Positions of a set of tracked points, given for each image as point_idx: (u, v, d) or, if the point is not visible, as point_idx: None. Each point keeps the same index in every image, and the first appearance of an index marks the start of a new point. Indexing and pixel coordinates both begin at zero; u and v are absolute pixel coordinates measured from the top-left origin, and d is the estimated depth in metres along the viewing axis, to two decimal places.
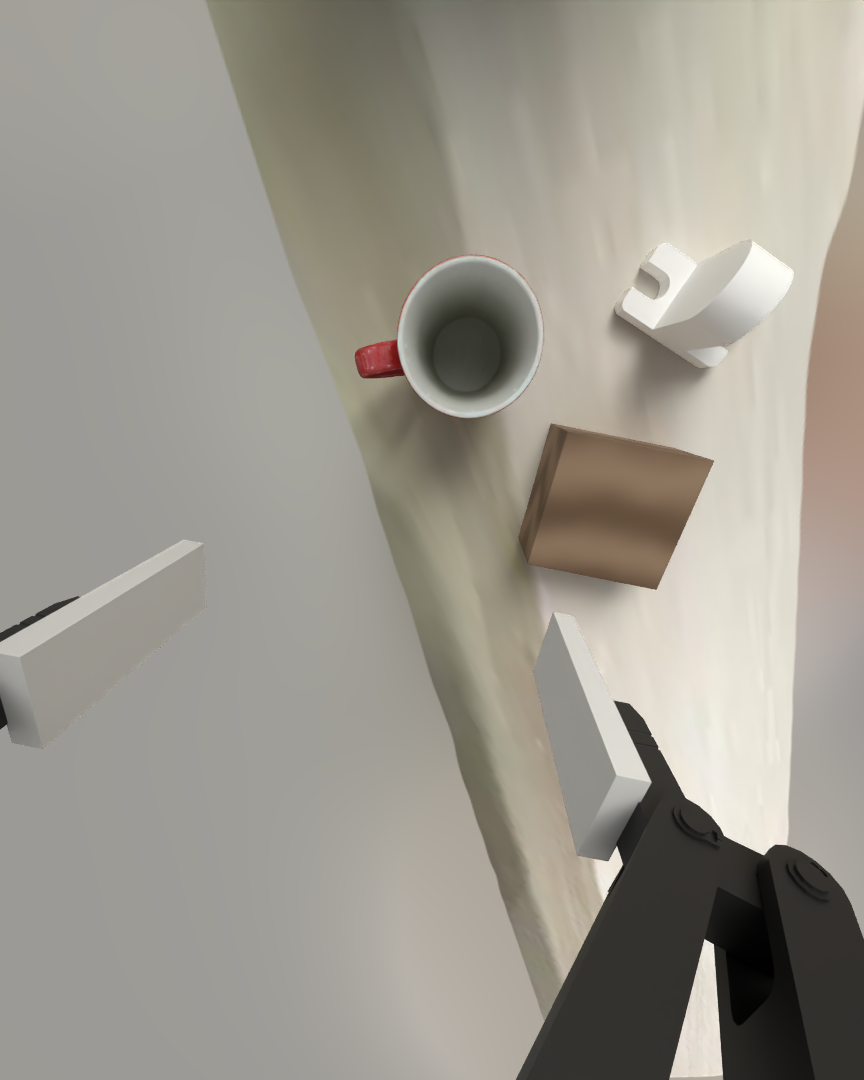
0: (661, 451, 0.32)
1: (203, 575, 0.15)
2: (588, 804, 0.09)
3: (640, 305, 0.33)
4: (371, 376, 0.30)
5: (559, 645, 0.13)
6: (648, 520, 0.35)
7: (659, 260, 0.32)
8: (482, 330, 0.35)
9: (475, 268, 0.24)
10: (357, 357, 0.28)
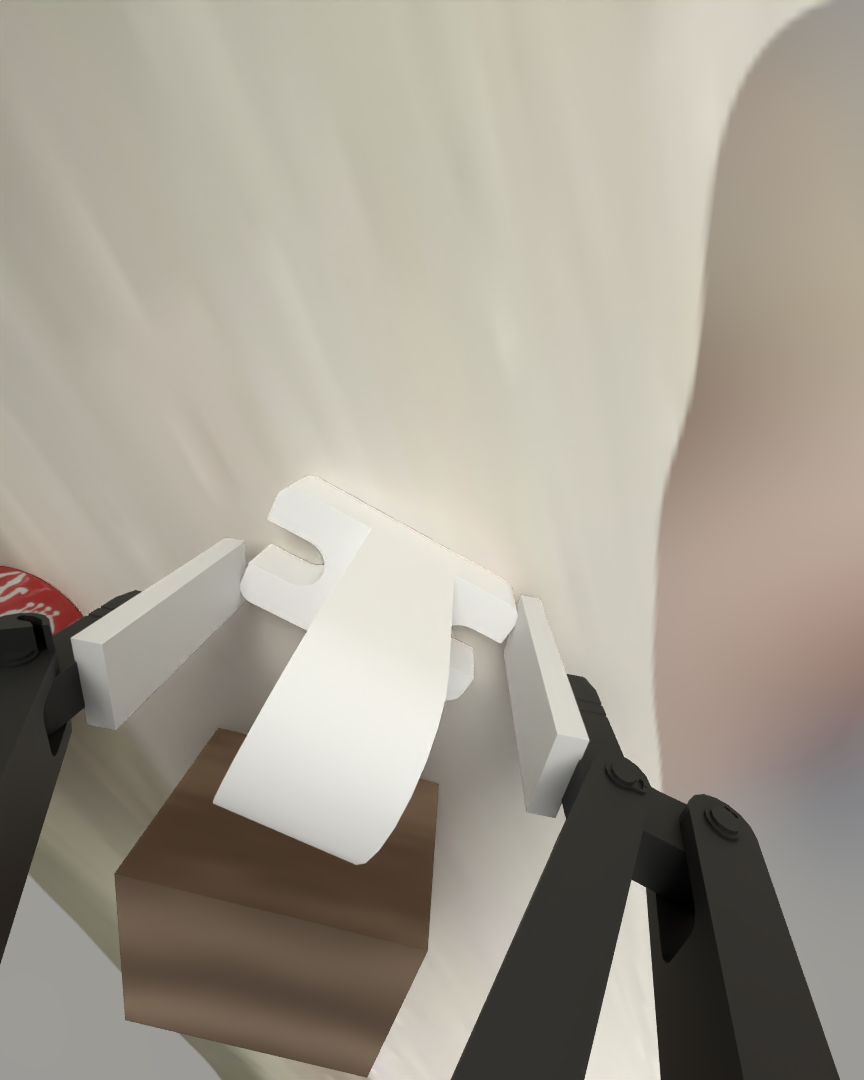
0: (316, 925, 0.15)
1: (243, 571, 0.16)
2: (536, 764, 0.10)
3: (276, 593, 0.16)
4: None
5: (523, 625, 0.14)
6: (324, 1003, 0.17)
7: (289, 519, 0.14)
8: None
9: None
10: None
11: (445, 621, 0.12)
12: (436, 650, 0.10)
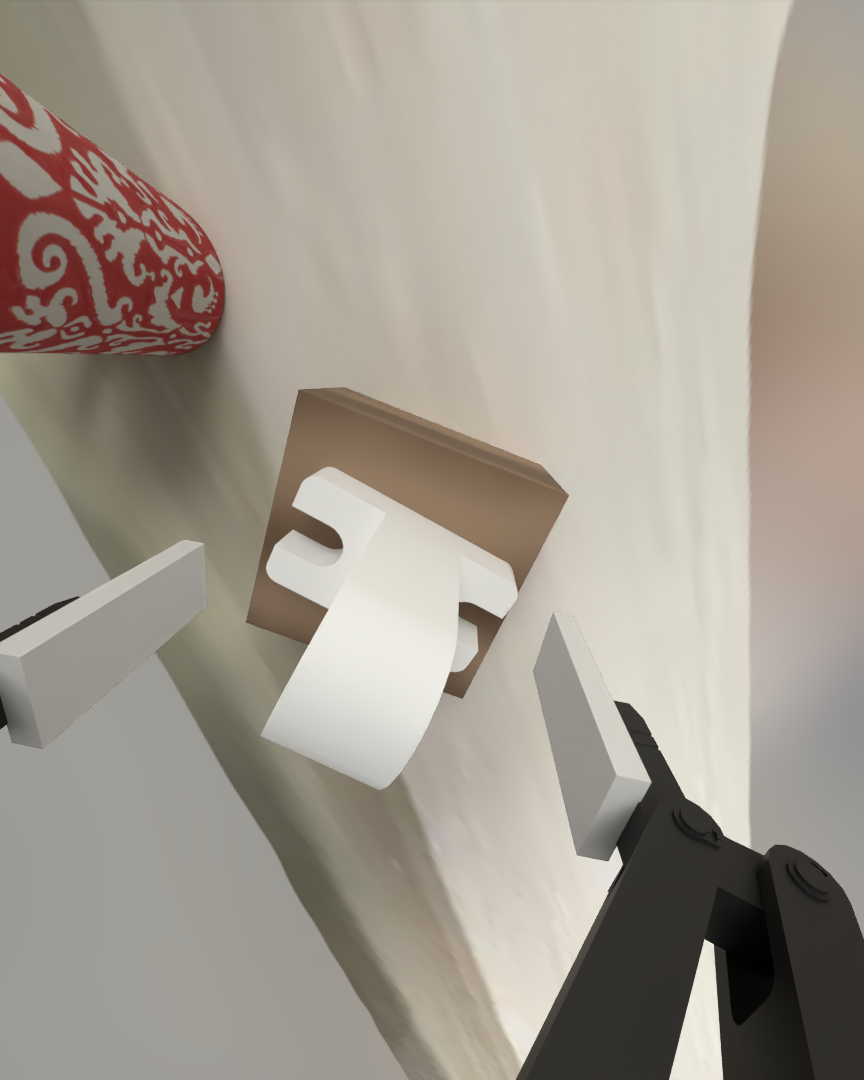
0: (474, 461, 0.17)
1: (203, 575, 0.15)
2: (588, 804, 0.09)
3: (299, 574, 0.17)
4: None
5: (559, 645, 0.13)
6: None
7: (311, 505, 0.16)
8: None
9: None
10: None
11: (453, 591, 0.13)
12: (446, 613, 0.12)
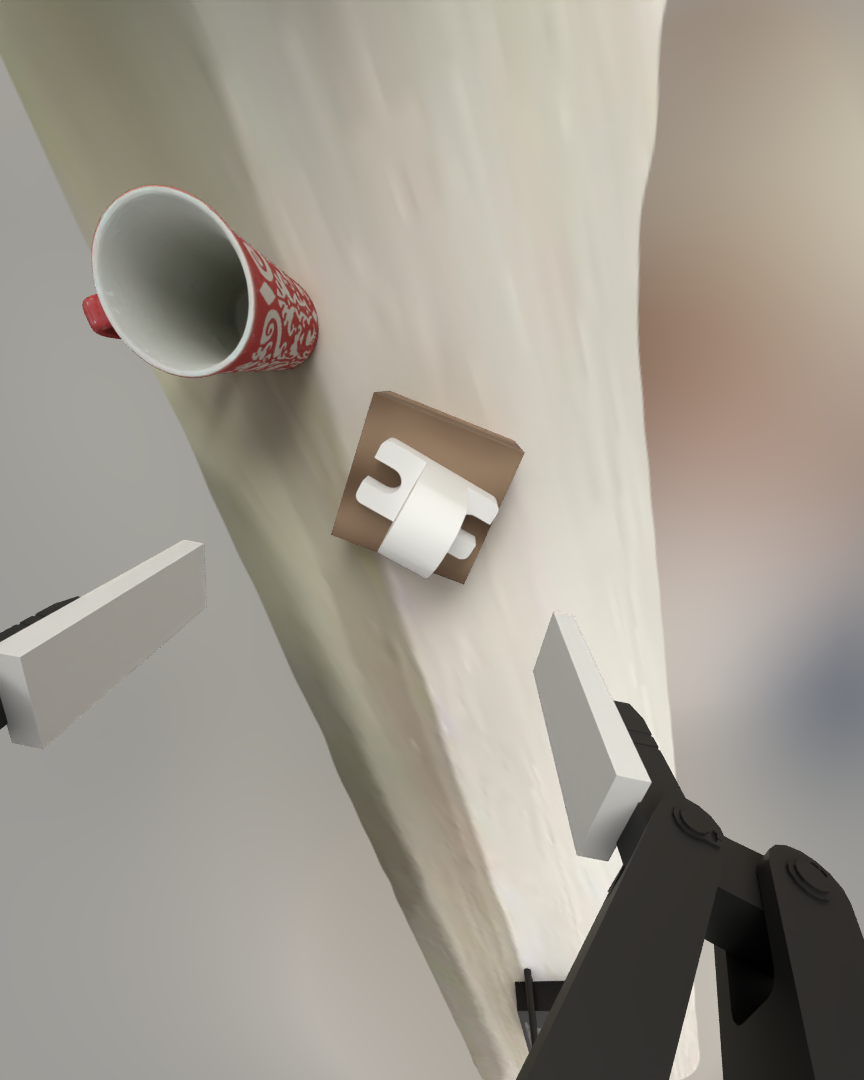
0: (471, 432, 0.30)
1: (203, 575, 0.15)
2: (588, 804, 0.09)
3: (374, 498, 0.30)
4: None
5: (559, 645, 0.13)
6: None
7: (385, 457, 0.29)
8: None
9: (167, 202, 0.21)
10: None
11: (464, 496, 0.26)
12: (461, 501, 0.25)
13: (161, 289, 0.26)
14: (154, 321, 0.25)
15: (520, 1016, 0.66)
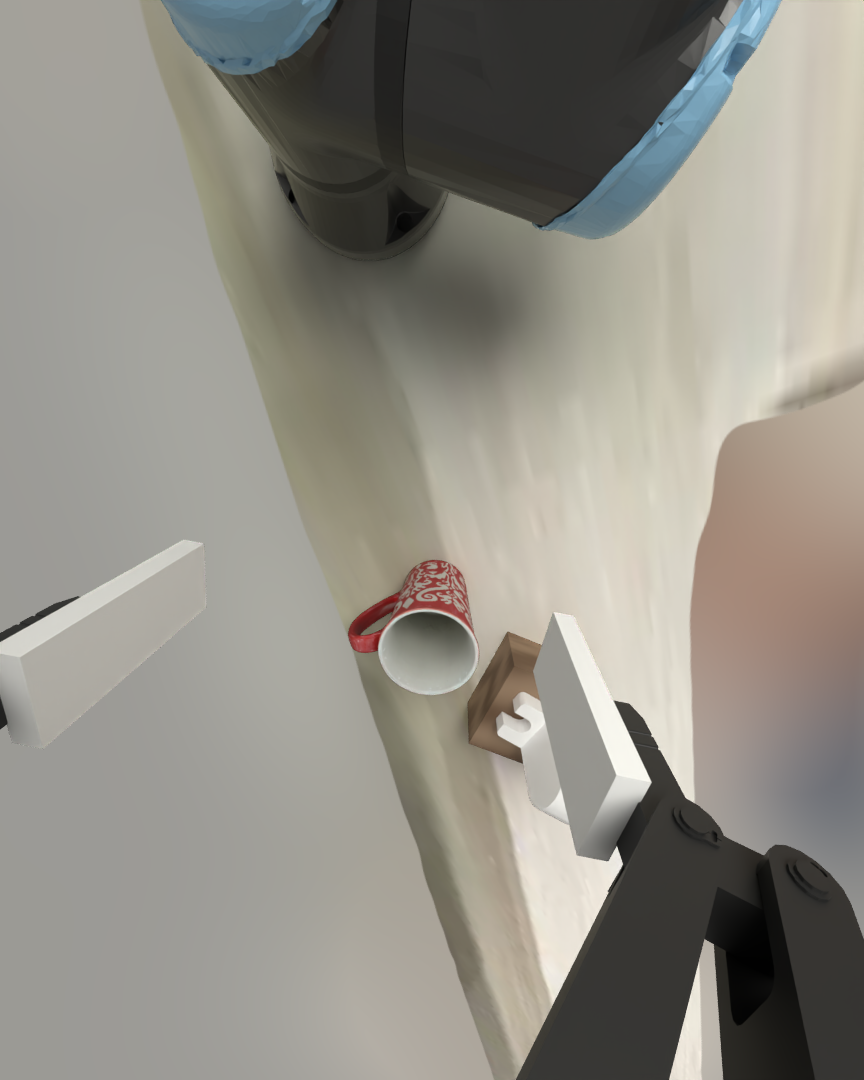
0: None
1: (203, 575, 0.15)
2: (588, 804, 0.09)
3: (510, 734, 0.44)
4: (360, 634, 0.41)
5: (559, 645, 0.13)
6: None
7: (522, 713, 0.43)
8: None
9: None
10: (350, 639, 0.38)
11: None
12: None
13: None
14: (394, 645, 0.39)
15: None
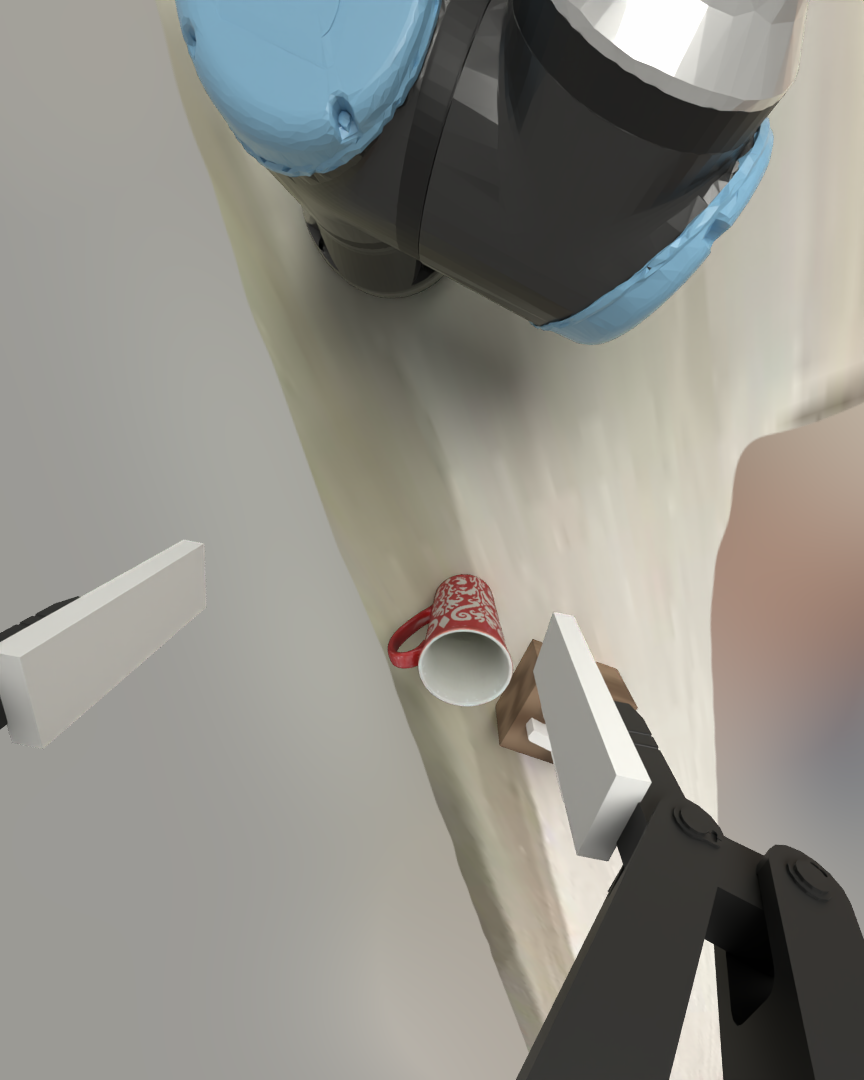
0: None
1: (203, 575, 0.15)
2: (588, 804, 0.09)
3: (540, 739, 0.47)
4: (397, 649, 0.44)
5: (559, 645, 0.13)
6: None
7: None
8: None
9: None
10: (390, 656, 0.41)
11: None
12: None
13: None
14: (431, 660, 0.41)
15: None
